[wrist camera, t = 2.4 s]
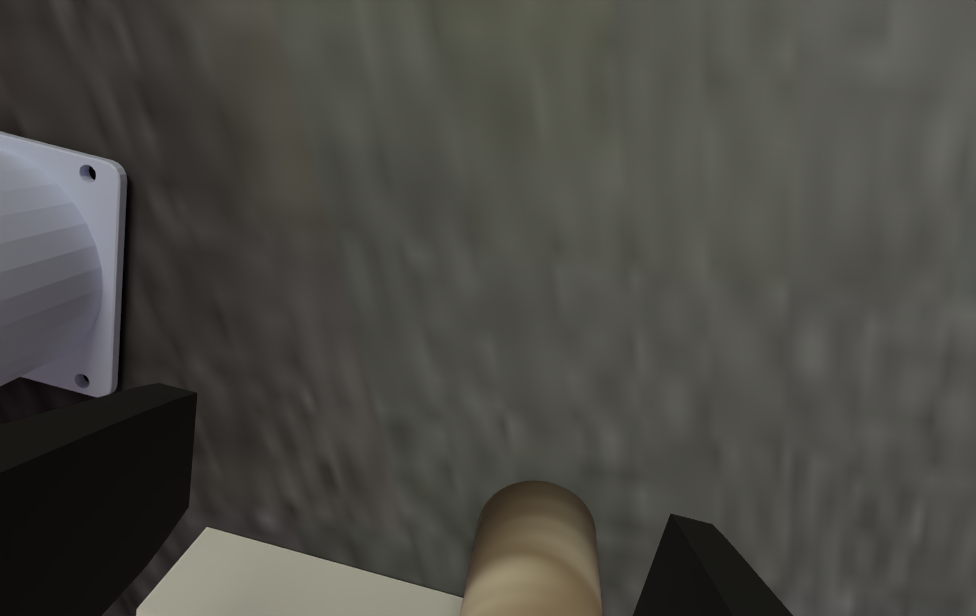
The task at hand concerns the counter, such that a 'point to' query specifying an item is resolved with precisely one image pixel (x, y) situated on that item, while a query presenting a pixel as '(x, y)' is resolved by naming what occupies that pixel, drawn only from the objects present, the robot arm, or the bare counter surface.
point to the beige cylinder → (534, 555)
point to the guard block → (281, 585)
